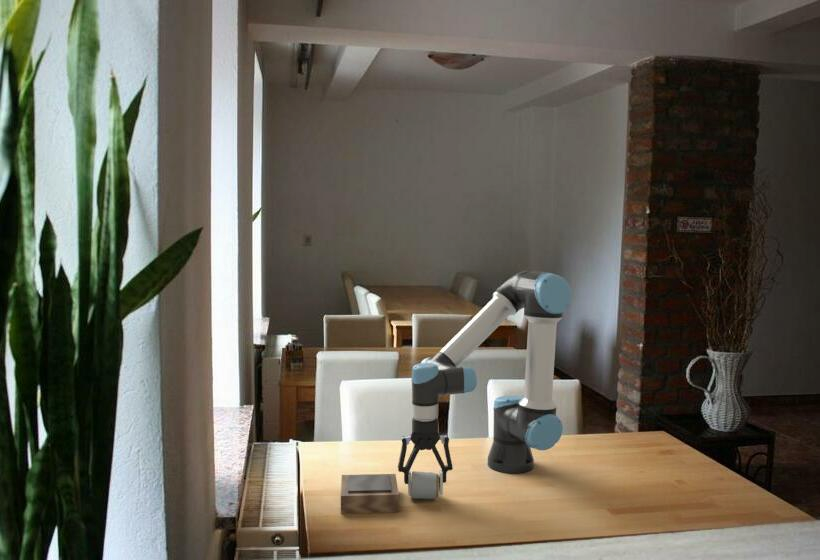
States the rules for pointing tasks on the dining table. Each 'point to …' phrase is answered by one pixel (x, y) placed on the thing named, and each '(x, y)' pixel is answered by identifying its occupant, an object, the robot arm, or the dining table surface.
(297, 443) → the dining table surface
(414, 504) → the dining table surface
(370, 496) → the walnut base
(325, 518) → the dining table surface
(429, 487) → the ceramic mug
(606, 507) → the dining table surface
